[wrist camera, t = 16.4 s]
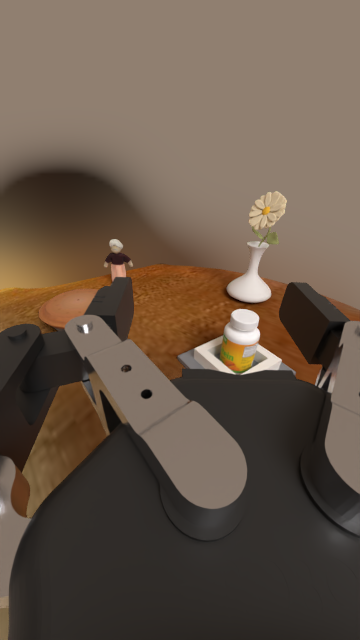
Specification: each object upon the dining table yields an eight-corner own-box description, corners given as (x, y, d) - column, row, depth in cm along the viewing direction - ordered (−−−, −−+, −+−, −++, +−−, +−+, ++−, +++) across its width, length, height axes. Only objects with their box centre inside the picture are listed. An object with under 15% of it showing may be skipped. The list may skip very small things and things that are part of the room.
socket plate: (177, 359, 42) (177, 346, 40) (233, 333, 48) (235, 321, 47) (235, 418, 32) (239, 404, 30) (294, 375, 39) (300, 362, 37)
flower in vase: (220, 288, 66) (233, 187, 53) (258, 286, 68) (280, 187, 54) (236, 312, 56) (258, 192, 42) (281, 309, 57) (316, 193, 44)
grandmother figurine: (106, 289, 64) (99, 242, 57) (106, 283, 67) (99, 238, 60) (135, 286, 66) (131, 240, 59) (134, 281, 69) (130, 236, 62)
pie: (133, 315, 53) (131, 296, 51) (74, 352, 43) (67, 330, 40) (89, 296, 61) (86, 278, 58) (28, 324, 50) (20, 303, 47)
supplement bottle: (212, 358, 41) (219, 310, 35) (237, 350, 43) (247, 303, 37) (231, 380, 37) (242, 330, 31) (258, 370, 39) (272, 320, 33)
